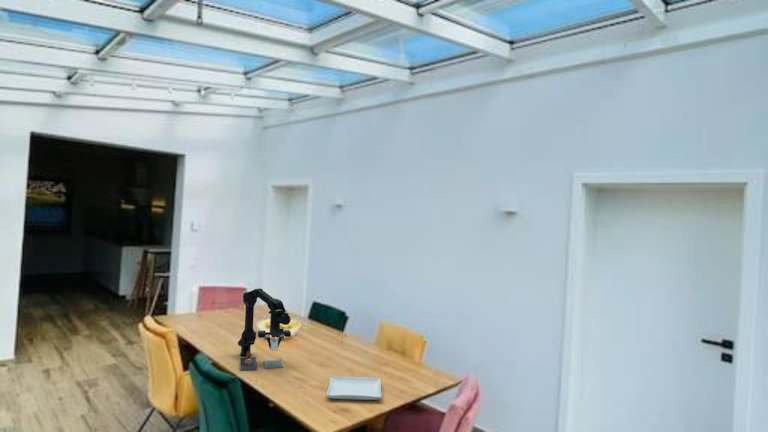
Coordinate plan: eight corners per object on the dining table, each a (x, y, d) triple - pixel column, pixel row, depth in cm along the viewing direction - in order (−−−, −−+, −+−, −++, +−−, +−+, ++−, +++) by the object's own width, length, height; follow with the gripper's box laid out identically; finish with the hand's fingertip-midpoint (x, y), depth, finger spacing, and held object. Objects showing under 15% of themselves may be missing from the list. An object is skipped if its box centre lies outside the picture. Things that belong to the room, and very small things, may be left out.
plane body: (240, 362, 274) (240, 351, 275) (255, 361, 277) (256, 350, 277) (240, 370, 259) (241, 359, 259) (257, 369, 262) (257, 358, 262)
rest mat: (263, 361, 277) (263, 360, 277) (280, 361, 280) (280, 360, 280) (264, 368, 265) (265, 367, 265) (282, 367, 268) (282, 366, 268)
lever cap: (269, 347, 275) (270, 338, 275) (276, 347, 276) (277, 337, 276) (270, 350, 269) (271, 340, 269) (277, 350, 270) (278, 340, 271)
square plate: (380, 384, 251) (380, 377, 251) (381, 404, 223) (382, 396, 224) (330, 382, 250) (330, 375, 250) (325, 402, 223) (326, 394, 223)
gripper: (259, 325, 262) (258, 352, 262) (292, 324, 268) (291, 351, 268) (258, 321, 273) (257, 347, 273) (290, 320, 279) (289, 346, 279)
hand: (273, 348), depth 273 cm, fingers closed on lever cap, 4 cm apart
